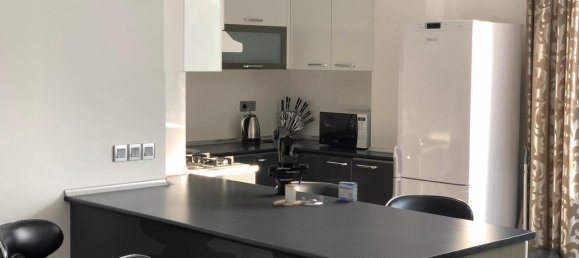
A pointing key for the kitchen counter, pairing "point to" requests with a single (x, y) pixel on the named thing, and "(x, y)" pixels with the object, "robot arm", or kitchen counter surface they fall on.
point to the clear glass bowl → (312, 202)
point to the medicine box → (347, 191)
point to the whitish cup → (290, 193)
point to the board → (282, 202)
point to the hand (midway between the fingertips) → (289, 185)
